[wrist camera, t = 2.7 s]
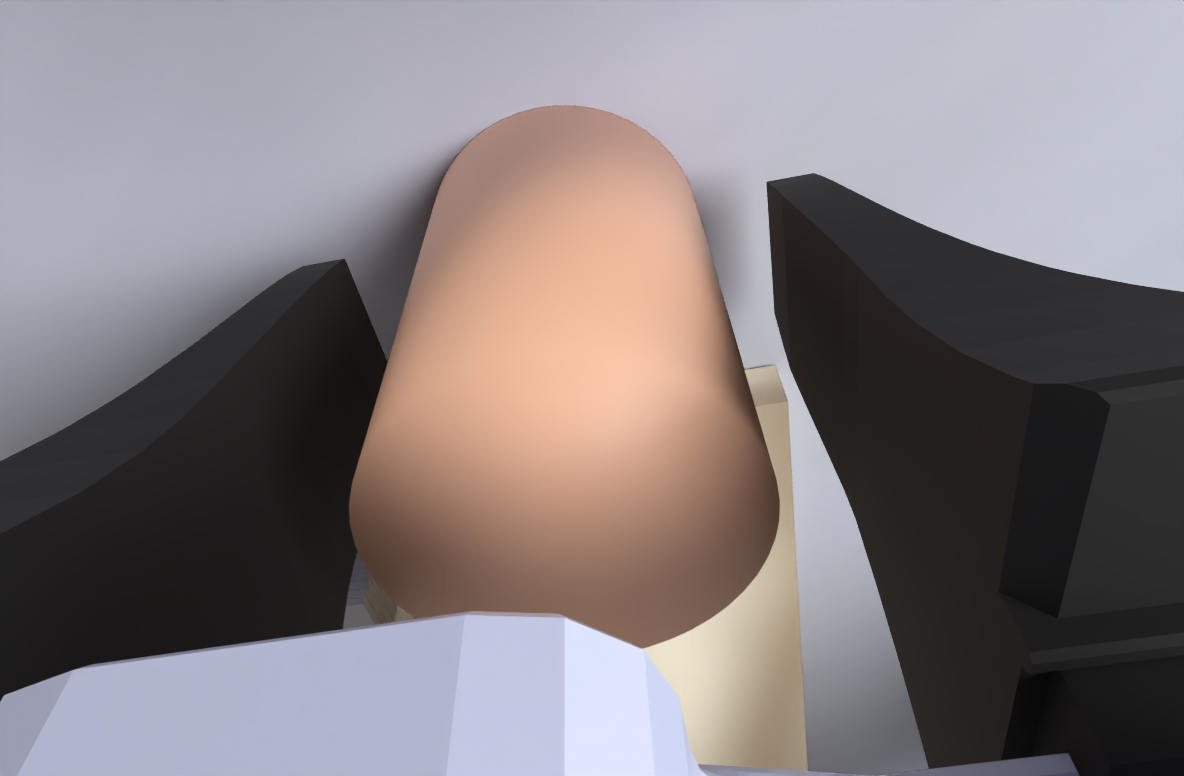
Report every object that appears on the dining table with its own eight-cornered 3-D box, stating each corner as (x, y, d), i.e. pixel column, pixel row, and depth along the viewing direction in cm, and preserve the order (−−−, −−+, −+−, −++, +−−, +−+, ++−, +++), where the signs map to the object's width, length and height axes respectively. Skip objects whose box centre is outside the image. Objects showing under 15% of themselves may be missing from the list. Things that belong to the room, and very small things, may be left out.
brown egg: (681, 79, 11) (766, 319, 6) (709, 324, 14) (788, 632, 9) (395, 135, 12) (277, 401, 7) (473, 364, 14) (425, 680, 9)
